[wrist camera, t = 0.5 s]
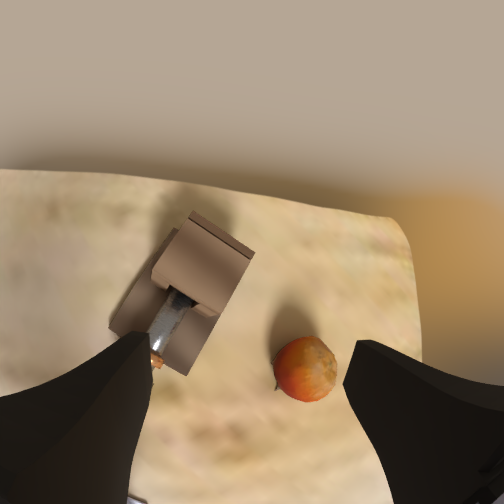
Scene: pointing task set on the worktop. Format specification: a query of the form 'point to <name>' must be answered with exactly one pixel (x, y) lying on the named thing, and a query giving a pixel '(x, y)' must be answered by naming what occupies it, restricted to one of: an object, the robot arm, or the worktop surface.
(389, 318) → the worktop surface
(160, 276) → the bearing housing
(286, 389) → the fruit
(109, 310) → the worktop surface
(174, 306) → the shaft
